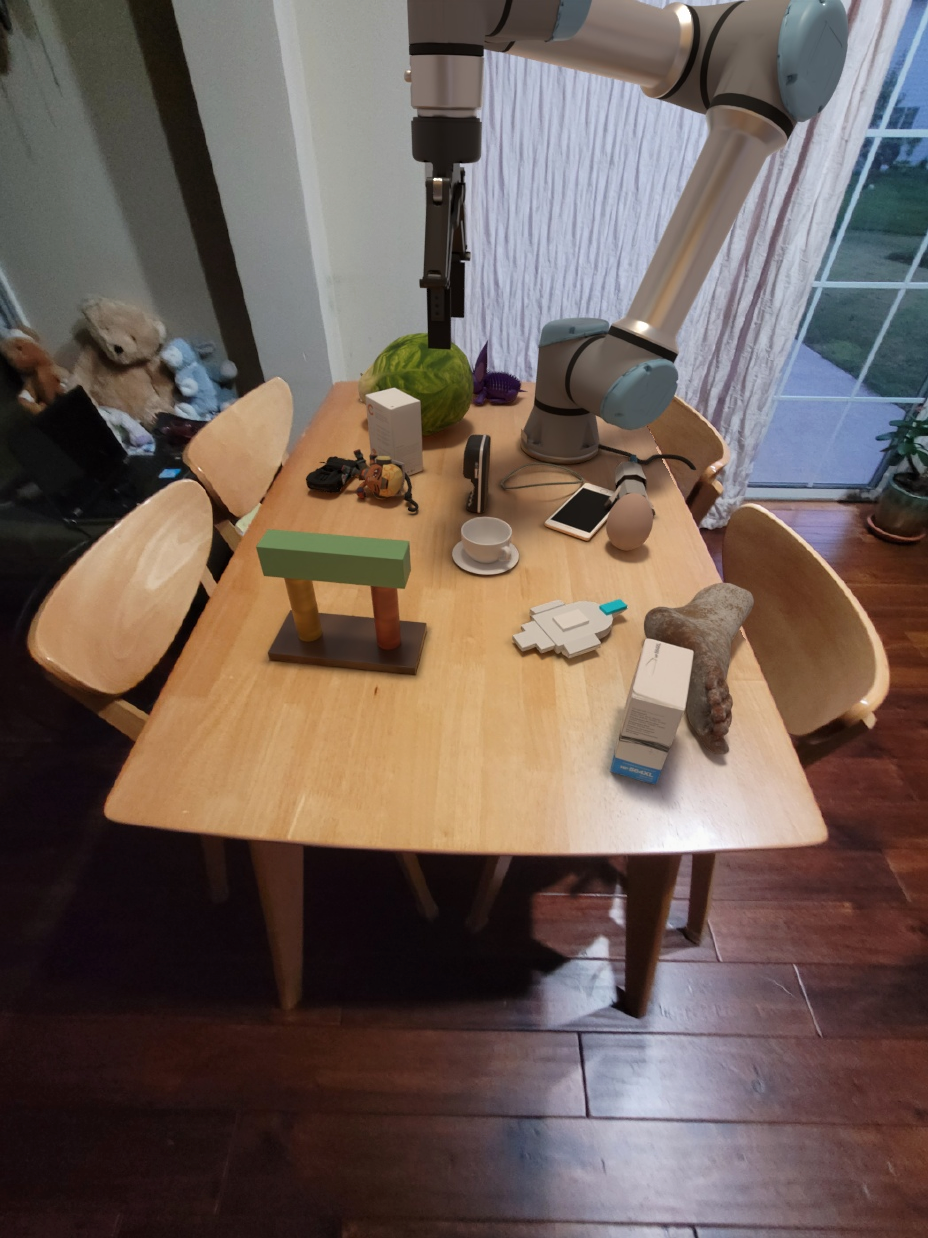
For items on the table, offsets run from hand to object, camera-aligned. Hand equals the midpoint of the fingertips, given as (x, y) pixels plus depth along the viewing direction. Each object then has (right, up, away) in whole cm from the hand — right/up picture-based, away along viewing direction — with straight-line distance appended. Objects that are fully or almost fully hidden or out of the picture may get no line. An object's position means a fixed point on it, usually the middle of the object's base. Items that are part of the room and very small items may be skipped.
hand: (447, 331), depth 75 cm
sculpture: (+25, -43, -9) cm, 50 cm away
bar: (-12, -32, -10) cm, 36 cm away
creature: (+8, +13, +57) cm, 59 cm away
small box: (-10, -9, +32) cm, 35 cm away
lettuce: (-8, +2, +45) cm, 46 cm away
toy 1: (-16, -9, +24) cm, 31 cm away
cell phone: (+23, -19, +22) cm, 37 cm away
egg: (+27, -26, +14) cm, 40 cm away
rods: (-12, -40, -2) cm, 42 cm away
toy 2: (+29, -22, +16) cm, 40 cm away
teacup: (+5, -28, +12) cm, 31 cm away
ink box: (+21, -51, -13) cm, 57 cm away
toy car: (-21, -13, +28) cm, 37 cm away
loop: (+18, -9, +33) cm, 38 cm away
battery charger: (+4, -18, +23) cm, 30 cm away
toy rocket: (+16, -37, -2) cm, 40 cm away
